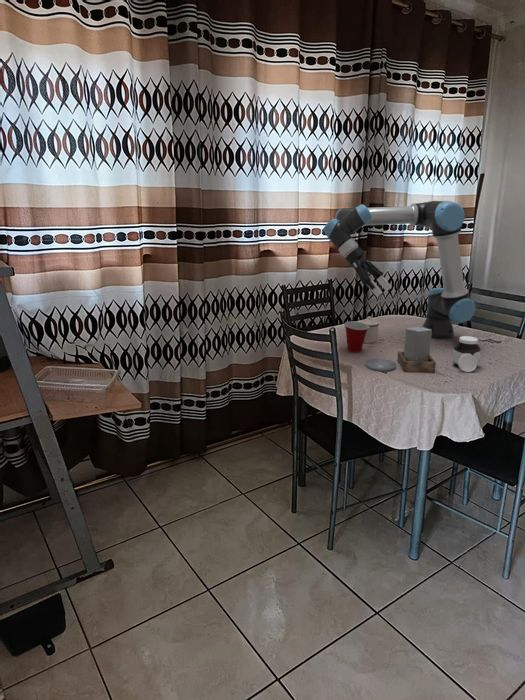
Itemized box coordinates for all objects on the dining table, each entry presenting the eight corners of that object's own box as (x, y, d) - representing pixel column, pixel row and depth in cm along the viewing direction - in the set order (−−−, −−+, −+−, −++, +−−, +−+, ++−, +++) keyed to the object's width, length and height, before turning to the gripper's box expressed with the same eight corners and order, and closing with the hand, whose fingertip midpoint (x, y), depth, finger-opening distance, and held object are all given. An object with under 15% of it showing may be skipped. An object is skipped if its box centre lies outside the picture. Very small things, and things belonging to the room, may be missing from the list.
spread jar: (468, 361, 203) (472, 334, 200) (488, 370, 193) (492, 342, 190) (444, 364, 200) (447, 337, 196) (463, 374, 190) (467, 345, 186)
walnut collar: (426, 361, 203) (427, 352, 202) (434, 372, 191) (435, 362, 190) (397, 360, 204) (398, 351, 203) (403, 371, 192) (404, 361, 191)
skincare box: (413, 370, 193) (417, 332, 188) (401, 365, 199) (404, 327, 194) (429, 367, 197) (434, 329, 192) (416, 362, 203) (420, 325, 198)
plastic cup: (362, 355, 210) (364, 328, 206) (338, 351, 215) (340, 325, 212) (371, 349, 219) (373, 323, 215) (348, 345, 224) (350, 319, 220)
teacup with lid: (377, 338, 234) (379, 315, 231) (377, 344, 226) (379, 319, 222) (351, 337, 236) (353, 313, 233) (351, 342, 228) (352, 318, 224)
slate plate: (392, 361, 203) (393, 358, 203) (398, 371, 192) (398, 368, 191) (363, 360, 204) (363, 358, 203) (367, 371, 192) (367, 368, 192)
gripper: (355, 255, 214) (385, 292, 212) (334, 261, 193) (368, 303, 191) (367, 243, 210) (399, 281, 208) (348, 248, 189) (382, 291, 187)
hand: (384, 292), depth 199 cm, fingers open, 13 cm apart
